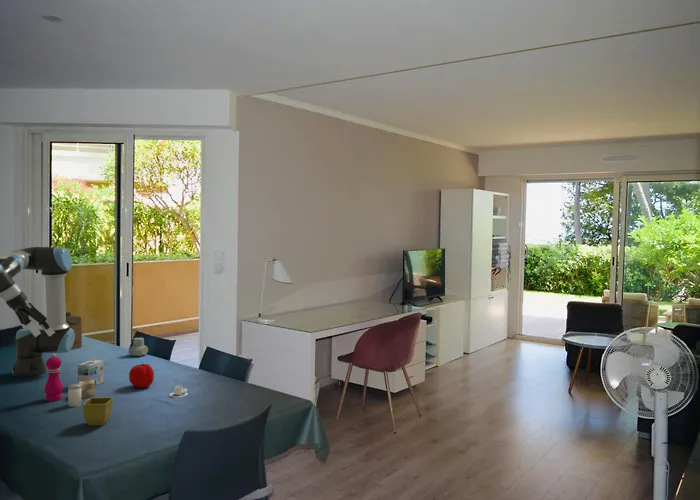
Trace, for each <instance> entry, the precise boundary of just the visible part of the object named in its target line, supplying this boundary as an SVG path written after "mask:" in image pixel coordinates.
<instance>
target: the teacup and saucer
mask: <svg viewBox="0 0 700 500" xmlns="http://www.w3.org/2000/svg"><path fill="white" fill-rule="evenodd" d="M187 391H188V389H187V388H183V386H182V385H176V386H175V387H174V390H173V392H171V393H169V395H168V396H169V397H171V398H182V397H186V396H188V394H189V393H188V392H187ZM174 394H175V395H176V396H174ZM182 394H183V395H182Z"/></svg>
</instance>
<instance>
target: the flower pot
mask: <svg viewBox="0 0 700 500" xmlns="http://www.w3.org/2000/svg"><path fill="white" fill-rule="evenodd" d="M113 404H114V397H89V399H87V400H86V401H85V402H84V403H81V405H82V412H83V417H84V421H85V422H86V424H87V425H88V427H89V426H93V427H94V426H97V427H98V426H99V427H100V426H103V425H105V424H106V423H107V422H108V420H109V418H110V417H111V414H112V411H113V410H112V409H113Z"/></svg>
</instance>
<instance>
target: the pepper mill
mask: <svg viewBox="0 0 700 500" xmlns="http://www.w3.org/2000/svg"><path fill="white" fill-rule="evenodd" d="M45 365H46V372H47V373H48V376H47V377H48V378H47V380H46V383H45V385H44V390H43V392H44V393H45V401H47V402H56V401H59V400H61V399H62V398H63V394H62V392H63V391H64V385H63V383H62V381H61V378H60V372H61V365H62V359H61V358H60V357H57V353H51V355H50V357H49V358H47V359H46V362H45Z"/></svg>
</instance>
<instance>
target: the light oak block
mask: <svg viewBox="0 0 700 500" xmlns="http://www.w3.org/2000/svg"><path fill="white" fill-rule="evenodd" d="M79 384H82V387H81V399H82V398H83V399H84V398H85V399H86V398H95V395H96V394H95V393H96V391H95V387H96V386H95V383H94V380H88V381H79Z"/></svg>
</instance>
